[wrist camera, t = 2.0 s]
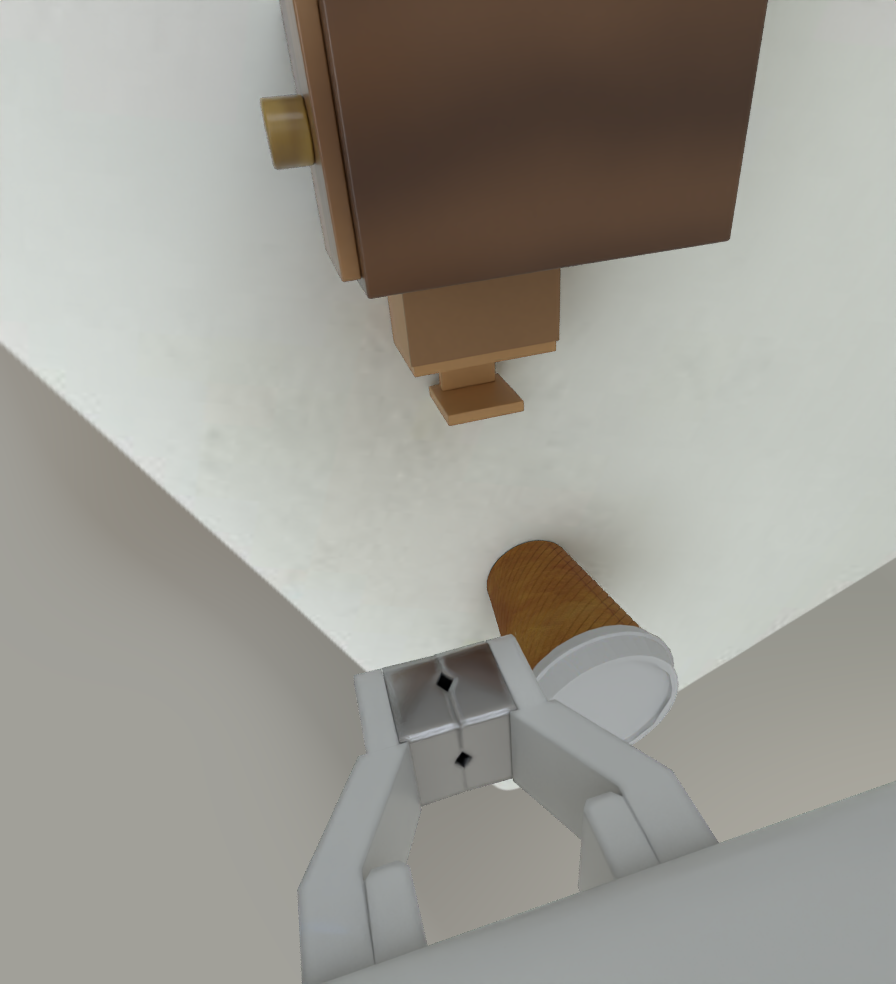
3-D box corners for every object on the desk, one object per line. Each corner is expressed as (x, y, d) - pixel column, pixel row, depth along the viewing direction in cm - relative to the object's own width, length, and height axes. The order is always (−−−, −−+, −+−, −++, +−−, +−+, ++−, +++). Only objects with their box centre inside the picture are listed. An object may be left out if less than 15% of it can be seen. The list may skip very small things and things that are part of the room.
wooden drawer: (376, 232, 29) (397, 253, 25) (518, 212, 30) (561, 228, 26) (399, 397, 34) (420, 438, 30) (521, 374, 35) (558, 410, 31)
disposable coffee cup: (518, 643, 47) (589, 784, 37) (437, 589, 42) (494, 736, 32) (612, 563, 45) (713, 689, 35) (539, 495, 40) (633, 621, 30)
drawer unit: (233, -3, 23) (219, -95, 13) (567, -27, 26) (788, -120, 15) (285, 233, 28) (306, 310, 17) (563, 194, 30) (730, 241, 20)
